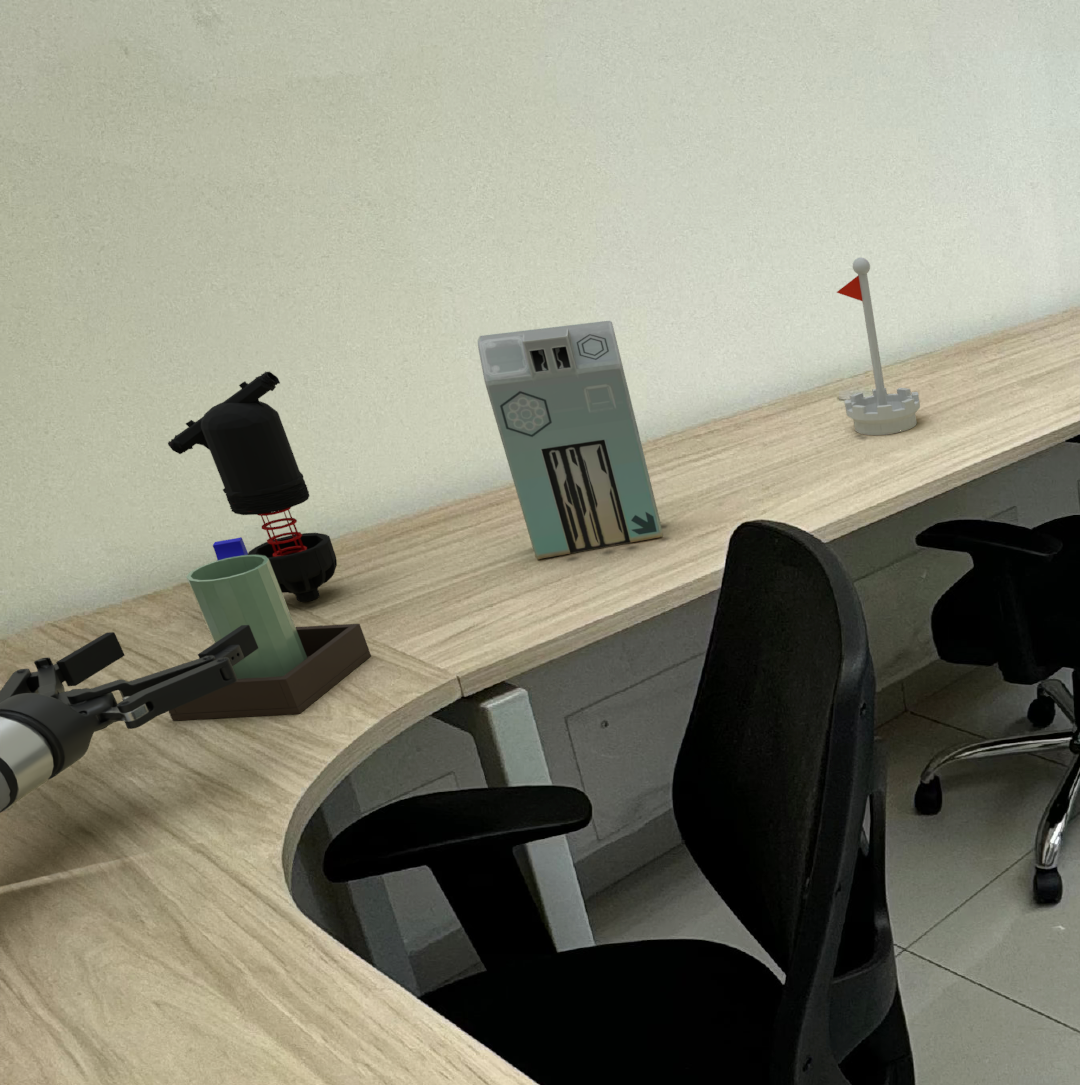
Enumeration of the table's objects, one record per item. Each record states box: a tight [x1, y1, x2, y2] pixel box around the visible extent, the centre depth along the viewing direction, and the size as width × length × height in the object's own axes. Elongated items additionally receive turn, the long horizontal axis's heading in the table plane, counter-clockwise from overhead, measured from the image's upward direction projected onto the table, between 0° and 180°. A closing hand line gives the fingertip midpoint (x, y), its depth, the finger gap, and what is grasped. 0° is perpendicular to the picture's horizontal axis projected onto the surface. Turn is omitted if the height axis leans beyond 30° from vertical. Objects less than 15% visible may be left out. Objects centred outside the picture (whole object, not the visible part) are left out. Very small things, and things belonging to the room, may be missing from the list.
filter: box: [167, 371, 338, 603], centre depth 156 cm, size 14×9×30 cm
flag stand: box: [836, 256, 921, 436], centre depth 218 cm, size 13×13×30 cm
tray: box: [168, 623, 372, 722], centre depth 139 cm, size 14×14×4 cm
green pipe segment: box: [185, 555, 307, 679], centre depth 137 cm, size 7×7×14 cm
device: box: [477, 320, 664, 560], centre depth 171 cm, size 16×8×30 cm, turn 115°
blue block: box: [212, 536, 249, 561], centre depth 164 cm, size 12×4×6 cm, turn 27°
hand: (183, 640), depth 128 cm, fingers open, 13 cm apart
